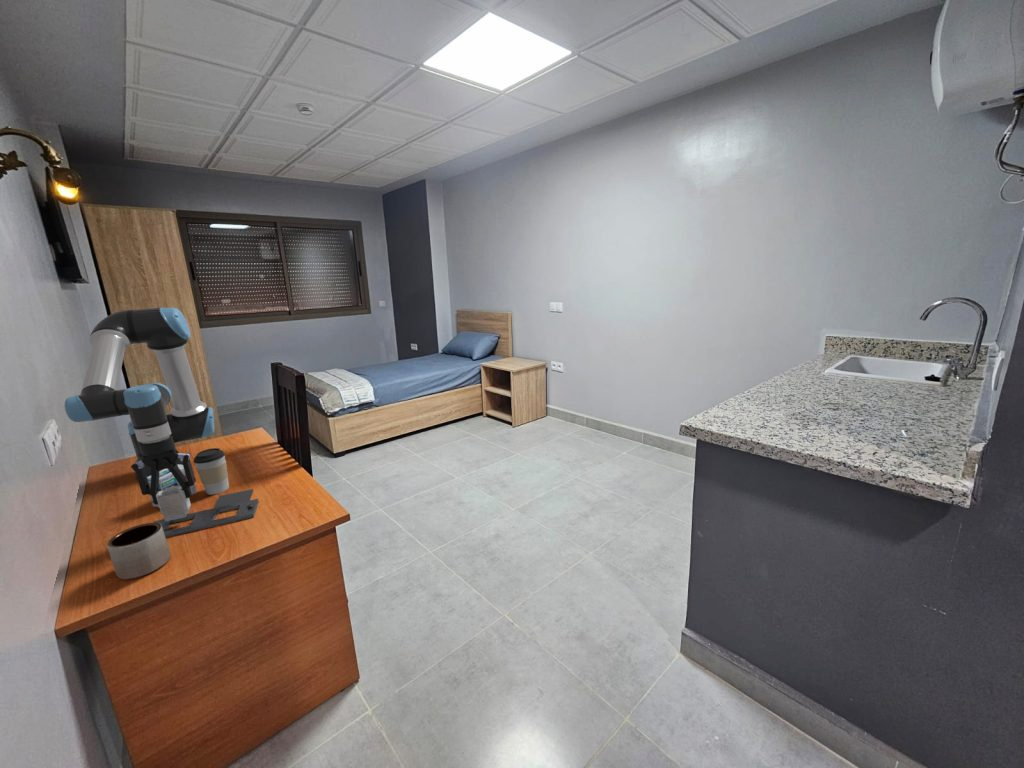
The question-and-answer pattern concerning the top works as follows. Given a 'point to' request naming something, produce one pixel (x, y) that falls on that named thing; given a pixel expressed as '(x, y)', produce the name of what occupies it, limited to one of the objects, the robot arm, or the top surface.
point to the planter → (139, 550)
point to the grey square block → (172, 504)
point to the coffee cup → (212, 470)
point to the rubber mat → (234, 498)
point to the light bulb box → (169, 481)
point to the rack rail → (211, 518)
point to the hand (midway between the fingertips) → (176, 509)
